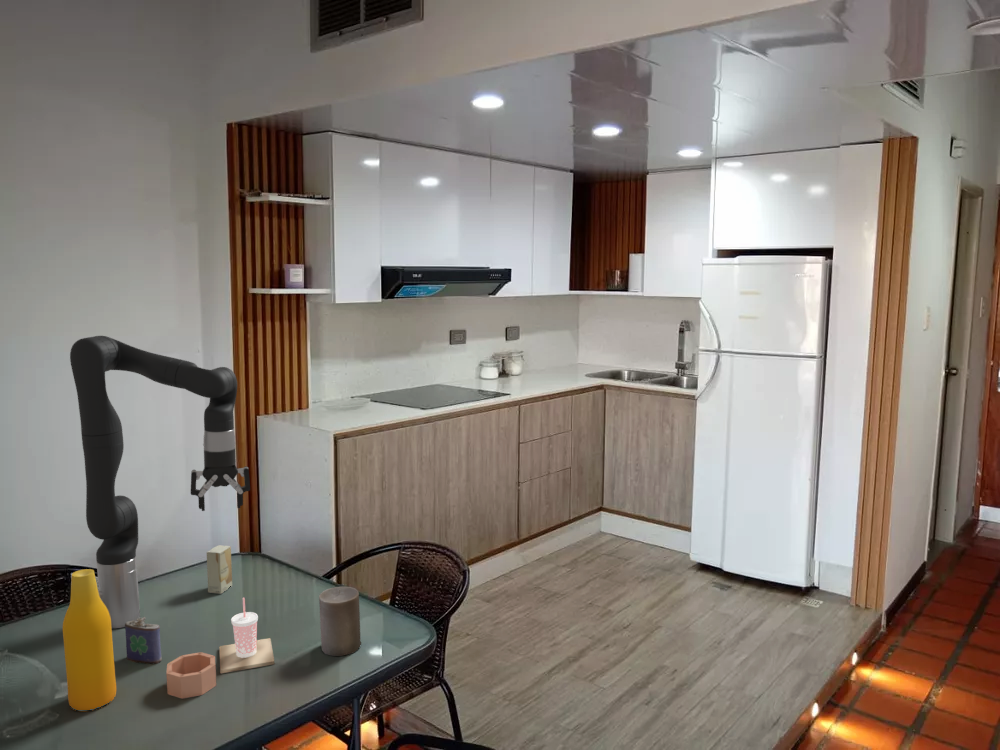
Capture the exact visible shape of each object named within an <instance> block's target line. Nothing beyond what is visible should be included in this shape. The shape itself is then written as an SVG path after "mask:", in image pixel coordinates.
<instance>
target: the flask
mask: <svg viewBox="0 0 1000 750" xmlns="http://www.w3.org/2000/svg"><path fill="white" fill-rule="evenodd" d="M136 620H137V621H135V620H133V621H128V622H126V624H125V627H124V629H125V645H126V646H125V647H126V649H125V650H126V660H127V661H129V662H133V663H138V664H139V663H140V664H144V665H145V664H147V665H157V664H160V662H162V648H161V646H162V645H161V634H160V633H161V632H160V631H161V630H160V629H161V627H160V625H159V624H155V623H154V624H153V623H145V620H146V617H145V616H143V617H140V618H138V619H136Z"/></svg>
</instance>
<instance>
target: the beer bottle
mask: <svg viewBox="0 0 1000 750" xmlns="http://www.w3.org/2000/svg"><path fill="white" fill-rule="evenodd" d="M96 579H97V578H96V575H95V570H94V569H91V568H89V569H87V568H86V569H83V568H82V569H79V570H76V571H73V572H72V573H71V579H70V580H71V583H70V599H69V600H70V601H69V605H68V608H67V610H66V612H65V615H64V617H63V620H62V636H63V648H64V649H63V650H64V662H65V673H66V682H67V685H66V687H67V699H68V704H69V707H70V706H71V707H72V708H74V709H76V710H90V709H95V708H97V707H101V706H103V705H105V704H107V703H109V702H110V701H111V702H112V701H113V700H114V699H115V698H116V695H117V681H116V667H115V658H114V657H115V656H114V645H113V644H114V643H113V630H112V629H113V628H111V618H110V614H109V611H108V609H107V607H106V606H105V604H104V603H103V602H102V600H101V598H100V596H99V592H98V591H99V587H98V584H97V583H98V582H97V580H96ZM114 697H115V698H114ZM111 702H110V703H111ZM110 703H109V704H110ZM107 705H108V704H107ZM71 707H70V708H71ZM72 708H71V709H72ZM101 708H102V707H101ZM74 709H73V710H74ZM76 710H75V711H76Z"/></svg>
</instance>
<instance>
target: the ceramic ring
mask: <svg viewBox="0 0 1000 750" xmlns="http://www.w3.org/2000/svg"><path fill="white" fill-rule="evenodd" d="M216 669H217V667H216V656H215V655H212V654H209V653H206V652H202V651H200V652H194V653H188V654H183V655H180V656H178V657H177V658H175V659H173V660H172V661H171V660H170V662H168V663H167V665H166V672H165V673H166V688H167V690H166V691H167V695H169V696H173V697H176V698H178V699H188V698H193V697H197V696H198V697H199V696H202V695H204V694H206V693H207V692H208V691H210V690H212V689H214V687H217V671H216Z"/></svg>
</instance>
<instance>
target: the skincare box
mask: <svg viewBox="0 0 1000 750" xmlns="http://www.w3.org/2000/svg"><path fill="white" fill-rule="evenodd" d="M206 569H207V570H206V571H207V593H209V594H218V595H221V594H223V593H224V591H225V592H226V591H227V590H228V588H229V587H230V586H231V587H233V570H232V569H233V568H232V548H231V546H230V545H220V544H217V545H216V546H214V547H213V548H211V549H210V550H208V551H206ZM231 587H230V588H231ZM230 588H229V589H230Z"/></svg>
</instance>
